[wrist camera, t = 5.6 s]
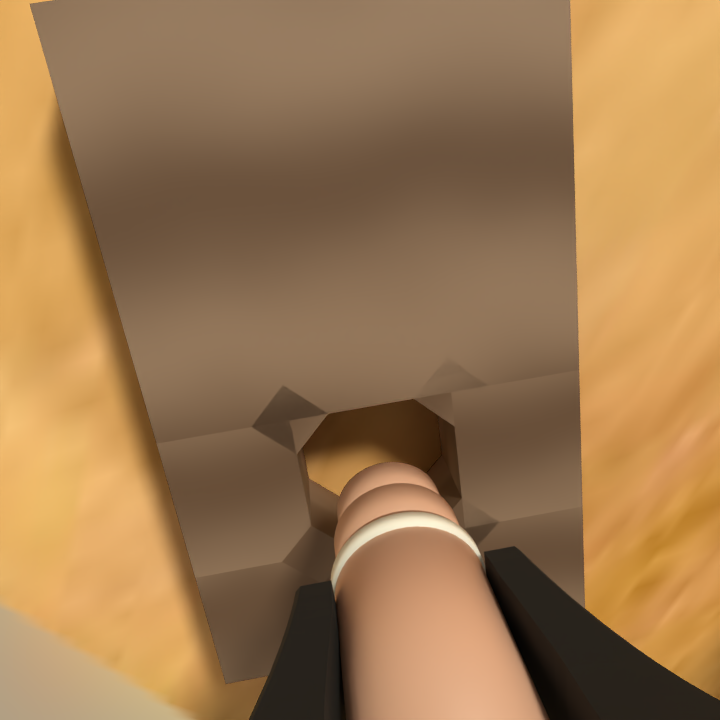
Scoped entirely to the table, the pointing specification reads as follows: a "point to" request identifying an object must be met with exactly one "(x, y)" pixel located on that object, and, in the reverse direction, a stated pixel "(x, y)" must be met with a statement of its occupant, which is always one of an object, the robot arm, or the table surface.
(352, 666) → the peg
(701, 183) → the table surface
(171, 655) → the table surface
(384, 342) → the board
